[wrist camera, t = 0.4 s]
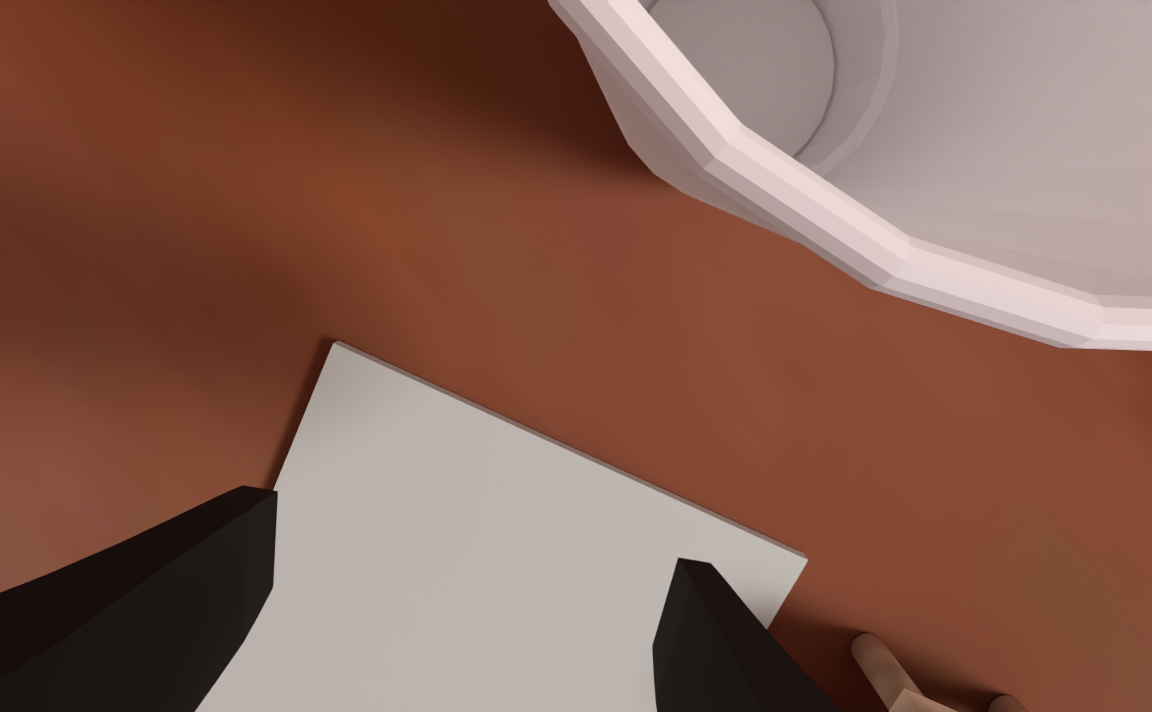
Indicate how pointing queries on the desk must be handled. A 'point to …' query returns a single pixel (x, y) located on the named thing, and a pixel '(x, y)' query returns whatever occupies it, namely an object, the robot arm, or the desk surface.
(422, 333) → the desk surface
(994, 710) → the tan plank with pegs
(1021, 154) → the cup
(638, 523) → the mat
